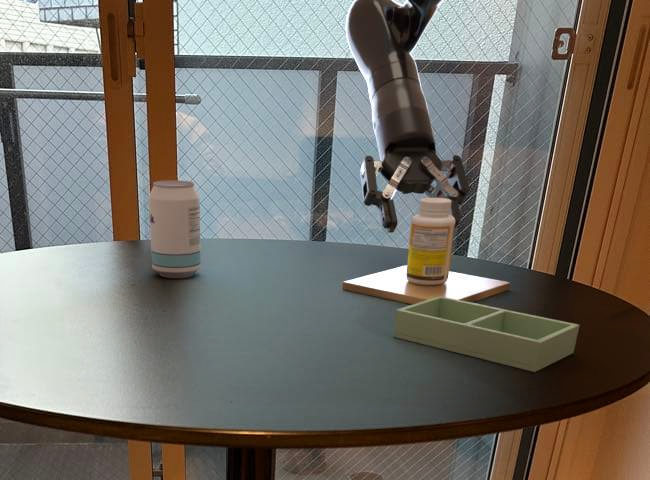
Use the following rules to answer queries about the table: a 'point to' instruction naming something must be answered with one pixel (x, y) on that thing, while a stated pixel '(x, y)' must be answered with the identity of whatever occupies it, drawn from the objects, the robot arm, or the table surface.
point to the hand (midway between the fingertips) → (423, 228)
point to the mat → (424, 287)
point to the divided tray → (487, 332)
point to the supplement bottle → (431, 242)
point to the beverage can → (175, 228)
